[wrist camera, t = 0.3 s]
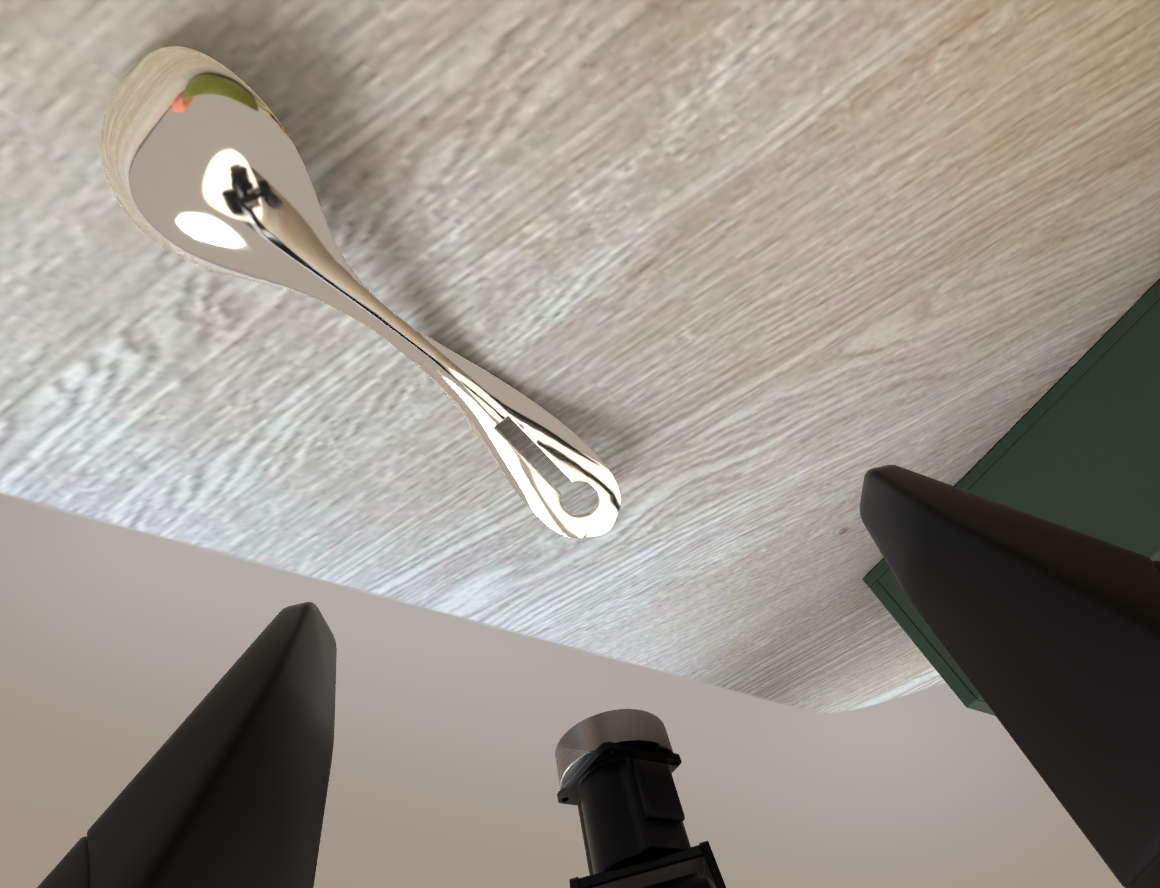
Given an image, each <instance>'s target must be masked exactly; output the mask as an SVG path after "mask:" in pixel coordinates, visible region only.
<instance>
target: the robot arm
mask: <svg viewBox="0 0 1160 888" xmlns="http://www.w3.org/2000/svg"><path fill="white" fill-rule="evenodd" d="M860 515H861V518H862V521H863V523H864V525H865V526H866V528H867V530H868V531H869V533H870V535H871V536H872V538H873V540H874V542H875V543H876V545H877V547H878V548H879V550H880V552H881V553H882V555H883V557H884V558H885V560H886V562H887V563H888V565H889V567H890V569H891V570H892V572H893V574H894V575H895V577H896V579H897V580H898V582H899V584H900V585H901V587H902V589H903V590H904V592H905V593H906V595H907V596H908V598H909V600H910V601H911V602H912V604H913V605H914V607H915V608H916V609H917V611H918V612H919V613H920V615H921V616H922V618H923V619H924V620H925V622H926V623H927V624H928V626H929V627H930V628H931V630H932V631H933V632H934V634H935V635H936V636H937V638H938V639H939V640H940V642H941V643H942V644H943V646H944V647H945V648H946V650H947V651H948V652H949V654H950V655H951V656H952V658H953V659H954V660H955V662H956V663H957V664H958V666H959V667H960V668H961V670H962V671H963V672H964V674H965V675H966V677H967V678H968V679H969V681H970V682H971V683H972V685H973V686H974V687H975V689H976V690H977V691H978V693H979V694H980V695H981V697H982V698H983V699H984V701H985V702H986V703H987V705H988V706H989V707H990V709H991V710H992V711H993V713H994V714H995V715H996V717H997V718H998V719H999V721H1000V722H1001V723H1002V725H1003V726H1004V727H1005V729H1006V730H1007V731H1008V733H1009V734H1010V736H1011V737H1012V738H1013V740H1014V741H1015V742H1016V744H1017V745H1018V746H1019V747H1020V749H1021V750H1022V752H1023V753H1024V754H1025V755H1026V757H1027V758H1028V760H1029V761H1030V762H1031V763H1032V765H1033V766H1034V768H1035V769H1036V770H1037V772H1038V773H1039V774H1040V776H1041V777H1042V778H1043V780H1044V781H1045V782H1046V784H1047V785H1048V786H1049V788H1050V789H1051V790H1052V792H1053V793H1054V794H1055V796H1056V797H1057V799H1058V800H1059V801H1060V803H1061V804H1062V805H1063V807H1064V808H1065V809H1066V811H1067V812H1068V813H1069V815H1070V816H1071V817H1072V819H1073V820H1074V821H1075V822H1076V824H1077V825H1078V827H1079V828H1080V829H1081V830H1082V832H1083V833H1084V835H1085V836H1086V837H1087V839H1088V840H1089V841H1090V843H1091V844H1092V845H1093V847H1094V848H1095V849H1096V851H1097V852H1098V853H1099V855H1100V856H1101V858H1102V859H1103V860H1104V862H1105V863H1106V864H1107V866H1108V867H1109V868H1110V870H1111V871H1112V872H1113V873H1114V875H1115V876H1116V878H1117V879H1118V880H1119V882H1120V883H1121V884H1122V885H1123V887H1125V888H1160V561H1157V560H1156V561H1152V560H1151V559H1150V558H1149V557H1147V556H1144V555H1141V554H1138V553H1136V552H1133V551H1130V550H1127V549H1125V548H1122V547H1119V546H1116V545H1114V544H1111V543H1108V542H1105V541H1103V540H1100V539H1097V538H1094V537H1092V536H1089V535H1086V534H1083V533H1081V532H1078V531H1075V530H1072V529H1069V528H1067V527H1064V526H1061V525H1058V524H1056V523H1053V522H1050V521H1047V520H1045V519H1042V518H1039V517H1036V516H1034V515H1031V514H1028V513H1025V512H1023V511H1020V510H1017V509H1014V508H1012V507H1009V506H1006V505H1003V504H1001V503H998V502H995V501H992V500H990V499H987V498H984V497H981V496H979V495H976V494H973V493H970V492H968V491H965V490H962V489H959V488H957V487H954V486H951V485H948V484H946V483H943V482H940V481H937V480H935V479H932V478H929V477H926V476H923V475H921V474H918V473H915V472H912V471H910V470H907V469H904V468H901V467H899V466H896V465H886V466H882V467H878V468H873V469H870V470H869V471H867V473H866V474H865V477H864V483H863V489H862V496H861V503H860ZM335 684H336V642H335V638H334V636H333V634H332V632H331V630H330V628H329V627H328V625H327V623H326V621H325V620H324V618H323V616H322V614H321V613H320V611H319V609H318V607H317V606H316V605H315V604H314V603H312V602H305V603H301V604H297V605H292V606H288V607H286V608H284V609H283V610H282V611H281V612H280V613H279V614H278V615H277V616H276V617H275V619H274V620H273V621H272V622H271V623H270V624H269V625H268V626H267V627H266V628H265V630H264V631H263V632H262V633H261V634H260V635H259V636H258V638H257V639H256V640H255V641H254V642H253V643H252V644H251V646H250V647H249V648H248V649H247V650H246V651H245V652H244V654H243V655H242V656H241V657H240V658H239V659H238V660H237V661H236V663H235V664H234V665H233V666H232V667H231V668H230V669H229V671H228V672H227V673H226V674H225V675H224V676H223V678H221V680H220V681H219V682H218V683H217V684H216V685H215V687H214V688H213V689H212V690H211V691H210V693H208V694H207V696H206V697H205V698H204V699H203V700H202V701H201V703H200V704H199V705H198V706H197V707H196V708H195V709H194V710H193V712H192V713H191V714H190V715H189V716H188V717H187V718H186V719H185V721H184V722H183V723H182V724H181V725H180V726H179V727H178V729H177V730H176V731H175V732H174V733H173V734H172V736H171V737H170V738H169V739H168V740H167V741H166V742H165V743H164V744H163V746H162V747H161V748H160V749H159V750H158V751H157V752H156V754H155V755H154V756H153V757H152V758H151V760H149V762H148V763H147V764H146V765H145V766H144V767H143V768H142V770H141V771H140V772H139V773H138V774H137V775H136V776H135V777H134V779H133V780H132V781H131V782H130V783H129V784H128V785H127V787H126V788H125V789H124V790H123V791H122V792H121V793H120V795H119V796H118V797H117V798H116V799H115V800H114V801H113V803H112V804H111V805H110V806H109V807H108V808H107V810H105V812H104V813H103V814H102V815H101V817H99V818H98V820H97V821H96V822H95V823H94V824H93V825H92V826H91V828H90V829H89V830H88V832H87V837H82V838H81V839H80V840H79V841H78V842H77V843H76V844H75V846H74V847H73V848H72V849H71V850H70V851H69V852H68V853H67V855H66V856H65V857H64V858H63V859H62V860H61V861H60V863H59V864H58V865H57V866H56V867H55V868H54V870H52V872H51V873H50V874H49V875H48V876H47V877H46V878H45V879H44V881H42V883H41V884H40V885H39V886H38V887H37V888H313V886H314V879H315V871H316V865H317V858H318V851H319V844H320V837H321V830H322V823H323V816H324V809H325V802H326V796H327V787H328V782H329V775H330V768H331V761H332V752H333V741H334V718H335ZM681 762H682V761H681V758H680V756H679V754H676V753H671V752H665V751H659V750H653V749H648V748H642V747H636V746H631V745H625V744H619V743H613V742H604V743H602V744H601V745H600V746H599V747H598V748H597V749H596V750H595V751H594V752H593V753H592V755H591V756H590V757H589V758H588V759H587V760H586V761H585V763H584V764H583V765H582V766H581V767H580V768H579V769H578V771H577V772H576V773H575V774H574V775H573V776H572V777H571V778H570V780H569V781H568V782H567V783H566V784H565V785H564V786H563V788H562V789H561V790H560V791H559V792H558V794H557V796H558V802H559V803H563V804H571V805H578V809H579V815H580V821H581V827H582V833H583V839H584V844H585V850H586V856H587V862H588V868H589V873H590V876H586V877H583V878H578V877H576V878H572V879H570V888H726V887H725V884H724V881H723V879H722V876H721V873H720V871H719V868H718V866H717V863H716V860H715V858H714V855H713V853H712V850H711V847H710V845H709V842H708V841H705V842H702V843H699V844H700V845H697V846H694V847H690V843H689V840H688V837H687V834H686V831H685V827H684V824H683V821H684V819H685V817H684V813H683V810H682V806H681V804H680V800H679V797H678V794H677V791H676V787H675V784H674V781H673V778H672V774H671V773H672V772H673V771H674V770H675V769H676V768H677V767H678V766H679V765H680V764H681Z"/></svg>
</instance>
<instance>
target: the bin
mask: <svg viewBox="0 0 1160 888" xmlns="http://www.w3.org/2000/svg"><path fill="white" fill-rule="evenodd" d="M955 487H957V488H959V489H962V490H965V491H968V492H970V493H973V494H976V495H979V496H981V497H984V498H987V499H990V500H992V501H995V502H998V503H1001V504H1003V505H1006V506H1009V507H1012V508H1014V509H1017V510H1020V511H1023V512H1025V513H1028V514H1031V515H1034V516H1036V517H1039V518H1042V519H1045V520H1047V521H1050V522H1053V523H1056V524H1058V525H1061V526H1064V527H1067V528H1069V529H1072V530H1075V531H1078V532H1081V533H1083V534H1086V535H1089V536H1092V537H1094V538H1097V539H1100V540H1103V541H1105V542H1108V543H1111V544H1114V545H1116V546H1119V547H1122V548H1125V549H1127V550H1130V551H1133V552H1136V553H1138V554H1141V555H1144V556H1147V557H1149V558H1150V559H1151V560H1152V561H1156V560H1157V561H1160V280H1159V281H1158V282H1157V283H1156V284H1155V285H1154V286H1153V287H1152V288H1151V289H1150V290H1149V291H1148V292H1147V293H1146V294H1145V295H1144V296H1143V297H1142V298H1141V299H1140V300H1139V301H1138V302H1137V303H1136V304H1135V305H1134V306H1133V307H1132V308H1131V309H1130V310H1129V311H1128V312H1127V313H1126V314H1125V315H1124V316H1123V317H1122V318H1121V319H1120V320H1119V321H1118V322H1117V323H1116V325H1115V326H1114V327H1113V328H1112V329H1111V330H1110V331H1109V332H1108V333H1107V334H1106V335H1105V336H1104V337H1103V338H1102V339H1101V340H1100V341H1099V342H1098V343H1097V344H1096V345H1095V346H1094V347H1093V348H1092V349H1091V350H1090V351H1089V352H1088V353H1087V354H1086V355H1085V356H1084V357H1083V358H1082V359H1081V360H1080V361H1079V362H1078V363H1077V364H1076V365H1075V366H1074V367H1073V368H1072V369H1071V370H1070V371H1069V372H1068V373H1067V374H1066V375H1065V376H1064V377H1063V378H1062V379H1061V380H1060V381H1059V382H1058V383H1057V384H1056V385H1055V386H1054V387H1053V388H1052V389H1051V390H1050V391H1049V392H1048V393H1047V394H1046V395H1045V396H1044V397H1043V398H1042V399H1041V400H1040V401H1039V402H1038V403H1037V404H1036V405H1035V406H1034V407H1033V408H1032V409H1031V410H1030V411H1029V412H1028V413H1027V414H1026V415H1025V416H1024V417H1023V418H1022V419H1021V420H1020V421H1019V422H1018V423H1017V424H1016V425H1015V427H1014V428H1013V429H1012V430H1011V431H1010V432H1009V433H1008V434H1007V435H1006V436H1005V437H1004V438H1003V439H1002V440H1001V441H1000V442H999V443H998V444H997V445H996V446H995V447H994V448H993V449H992V450H991V451H990V452H989V453H988V454H987V455H986V456H985V457H984V458H983V459H982V460H981V461H980V462H979V463H978V464H977V465H976V466H975V467H974V468H973V469H972V470H971V471H970V472H969V473H968V474H967V475H966V476H965V477H964V478H963V479H962V480H961V481H960V482H959V483H958V484H957V485H956V486H955ZM863 580H864V582H865V583H866V584H867V585H868V587H869V588H870V589H871V590H872V591H873V593H874V594H875V595H876V596H877V597H878V599H879V600H880V601H881V602H882V604H883V605H884V606H885V607H886V609H887V610H888V611H889V612H890V614H891V615H892V616H893V617H894V618H895V620H896V621H897V622H898V623H899V625H900V626H901V627H902V628H903V630H904V631H905V632H906V633H907V635H908V636H909V637H910V638H911V639H912V641H913V642H914V643H915V644H916V646H917V647H918V648H919V649H920V651H921V652H922V653H923V654H924V656H925V657H926V658H927V659H928V660H929V662H930V663H931V664H932V665H933V667H934V668H935V669H936V670H937V672H938V673H939V674H940V675H941V677H942V678H943V679H944V680H945V681H946V683H947V684H948V685H949V686H950V688H951V689H952V690H953V691H954V692H955V694H956V695H957V696H958V698H959V699H960V700H961V701H962V702H963V704H964V705H965V706H966V707H967V708H971V709H974V710H978V711H981V712H984V713H988V714H991V715H995V714H994V713H993V711H992V710H991V709H990V707H989V706H988V705H987V703H986V702H985V701H984V699H983V698H982V697H981V695H980V694H979V693H978V691H977V690H976V689H975V687H974V686H973V685H972V683H971V682H970V681H969V679H968V678H967V677H966V675H965V674H964V672H963V671H962V670H961V668H960V667H959V666H958V664H957V663H956V662H955V660H954V659H953V658H952V656H951V655H950V654H949V652H948V651H947V650H946V648H945V647H944V646H943V644H942V643H941V642H940V640H939V639H938V638H937V636H936V635H935V634H934V632H933V631H932V630H931V628H930V627H929V626H928V624H927V623H926V622H925V620H924V619H923V618H922V616H921V615H920V613H919V612H918V611H917V609H916V608H915V607H914V605H913V604H912V602H911V601H910V600H909V598H908V596H907V595H906V593H905V592H904V590H903V589H902V587H901V585H900V584H899V582H898V580H897V579H896V577H895V575H894V574H893V572H892V570H891V569H890V567H889V565H888V563H887V562H886V560H885V558H884V559H883V560H882V561H881V562H880V563H879V564H878V565H877V566H876V567H875V568H874V569H873V570H872V571H871V572H870V573H869V574H868V575H867V576H866V577H865V578H864V579H863ZM995 716H996V715H995Z"/></svg>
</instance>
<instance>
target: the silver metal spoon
mask: <svg viewBox="0 0 1160 888" xmlns="http://www.w3.org/2000/svg"><path fill="white" fill-rule="evenodd" d="M100 148H101V158H102V164H103V168H104V172H105V175H106V178H107V180H108V183H109V185H110V188H111V189H112V191H113V193H114V195H115V197H116V199H117V200H118V202H119V204H120V205H121V206H122V208H123V209H124V211H125V212H126V213H127V214H128V216H129V217H130V218H131V219H132V220H133V222H134V223H135V224H136V225H137V226H138V227H139V228H140V229H141V230H142V231H143V232H144V233H146V234H147V235H148V236H149V237H150V238H151V239H153V240H154V241H155V242H157V243H158V244H159V245H161V246H162V247H163V248H165V249H167V250H168V251H170V252H171V253H173V254H175V255H177V256H178V257H180V258H182V259H184V260H187V261H189V262H191V263H193V264H196V265H198V266H201V267H203V268H206V269H209V270H212V271H215V272H219V273H222V274H226V275H230V276H233V277H238V278H242V279H246V280H250V281H255V282H259V283H263V284H268V285H272V286H276V287H280V288H284V289H287V290H291V291H294V292H297V293H300V294H303V295H306V296H309V297H311V298H314V299H316V300H319V301H321V302H323V303H326V304H328V305H330V306H332V307H334V308H336V309H338V310H340V311H342V312H344V313H346V314H348V315H349V316H351V317H353V318H355V319H356V320H358V321H360V322H361V323H363V324H364V325H366V326H368V327H369V328H371V329H372V330H374V331H375V332H376V333H378V334H379V335H381V336H382V337H384V338H385V339H386V340H388V341H389V342H390V343H391V344H393V345H394V346H395V347H397V348H398V349H399V350H400V351H402V352H403V353H404V354H405V355H406V356H407V357H409V358H410V359H411V360H412V361H413V362H414V363H415V364H416V365H417V366H419V367H420V368H421V369H422V370H423V371H424V372H425V373H426V374H427V375H428V376H429V377H430V378H431V379H432V380H433V381H434V382H435V383H436V384H437V385H438V387H439V388H440V389H441V390H442V391H443V392H444V393H445V394H446V395H447V397H448V398H449V399H450V400H451V401H452V403H453V404H454V405H455V406H456V408H457V409H458V410H459V411H460V413H461V414H462V415H463V417H464V418H465V419H466V421H467V422H468V423H469V425H470V426H471V427H472V429H473V430H474V432H475V433H476V434H477V436H478V437H479V439H480V440H481V442H482V443H483V445H484V446H485V447H486V449H487V450H488V452H489V453H490V455H491V456H492V458H493V459H494V461H495V462H496V464H497V465H498V466H499V468H500V469H501V471H502V472H503V474H504V475H505V477H506V478H507V479H508V481H509V482H510V484H511V485H512V486H513V488H514V489H515V490H516V492H517V493H518V494H519V496H520V497H521V498H522V499H523V501H524V502H525V503H526V504H527V506H528V507H529V508H530V509H531V510H532V511H533V512H534V513H535V514H536V516H537V517H538V518H539V519H541V520H542V521H543V522H544V523H545V524H546V525H547V526H549V527H550V528H551V529H553V530H554V531H556V532H558V533H560V534H562V535H564V536H567V537H571V538H586V537H595V536H600V535H603V534H605V533H607V532H608V531H609V530H610V529H611V528H612V526H613V525H614V523H615V520H616V517H617V515H618V512H619V510H620V506H621V494H620V490H619V487H618V484H617V482H616V480H615V478H614V477H613V475H612V473H611V472H610V470H609V469H608V468H607V466H606V465H605V464H604V462H603V461H602V460H601V459H600V458H599V457H598V456H597V454H596V453H595V452H594V451H593V450H592V449H591V448H590V447H589V446H588V445H587V444H586V443H585V442H584V441H582V440H581V439H580V438H579V437H578V436H577V435H576V434H575V433H574V432H572V431H571V430H570V429H569V428H568V427H566V426H565V425H564V424H563V423H561V422H560V421H559V420H558V419H556V418H555V417H554V416H553V415H551V414H550V413H549V412H547V411H546V410H545V409H543V408H542V407H540V406H539V405H538V404H536V403H535V402H533V401H532V400H530V399H529V398H528V397H526V396H525V395H523V394H522V393H520V392H519V391H517V390H516V389H514V388H513V387H511V386H510V385H508V384H507V383H505V382H503V381H502V380H500V379H499V378H497V377H495V376H494V375H492V374H491V373H489V372H487V371H486V370H484V369H482V368H481V367H479V366H477V365H475V364H474V363H472V362H470V361H469V360H467V359H465V358H463V357H462V356H460V355H458V354H456V353H455V352H453V351H451V350H450V349H448V348H446V347H444V346H443V345H441V344H439V343H438V342H436V341H434V340H433V339H431V338H430V337H428V336H426V335H425V334H423V333H422V332H420V331H419V330H417V329H415V328H414V327H412V326H411V325H410V324H408V323H407V322H405V321H404V320H402V319H401V318H400V317H398V316H397V315H396V314H394V313H393V312H392V311H391V310H389V309H388V308H387V307H386V306H385V305H384V304H382V303H381V302H380V301H379V300H378V299H377V298H376V297H375V296H374V295H373V294H372V293H371V292H370V291H369V290H368V289H367V288H366V287H365V286H364V285H363V284H362V282H361V281H360V280H359V279H358V278H357V276H356V275H355V274H354V272H353V271H352V270H351V268H350V267H349V265H348V264H347V263H346V261H345V259H344V258H343V256H342V254H341V253H340V251H339V249H338V247H337V245H336V243H335V241H334V239H333V236H332V234H331V232H330V229H329V227H328V224H327V222H326V219H325V217H324V214H323V211H322V209H321V206H320V203H319V201H318V198H317V195H316V192H315V190H314V187H313V185H312V182H311V180H310V177H309V175H308V172H307V170H306V168H305V165H304V163H303V161H302V159H301V157H300V155H299V153H298V151H297V149H296V147H295V145H294V144H293V142H292V140H291V138H290V137H289V135H288V134H287V132H286V131H285V129H284V127H283V126H282V125H281V123H280V122H279V120H278V119H277V118H276V116H275V115H274V114H273V112H272V111H271V110H270V109H269V108H268V106H267V105H266V104H265V103H264V102H263V101H262V100H261V98H260V97H259V96H258V95H257V94H256V93H255V92H254V91H253V90H252V89H251V88H250V87H249V86H248V85H247V84H246V83H244V82H243V81H242V80H241V79H240V78H239V77H238V76H236V75H235V74H234V73H233V72H231V71H230V70H229V69H228V68H226V67H225V66H223V65H222V64H221V63H219V62H218V61H216V60H214V59H213V58H211V57H209V56H207V55H205V54H203V53H201V52H199V51H196V50H193V49H190V48H186V47H180V46H169V47H164V48H160V49H157V50H155V51H153V52H151V53H150V54H148V55H147V56H145V57H144V58H143V59H142V60H140V61H139V62H138V63H137V64H136V65H135V66H134V67H133V68H132V70H131V71H130V72H129V73H128V74H127V76H126V77H125V78H124V79H123V81H122V82H121V84H120V85H119V87H118V88H117V90H116V92H115V93H114V95H113V97H112V99H111V101H110V103H109V105H108V108H107V111H106V114H105V117H104V120H103V124H102V130H101V139H100ZM507 417H510V418H511V419H512V420H513V421H514V422H515V423H516V424H517V425H518V427H519V428H520V429H521V430H522V431H523V432H524V433H525V434H526V435H527V436H528V437H529V438H530V439H531V440H532V441H533V442H534V443H535V444H536V445H537V446H538V447H539V448H540V449H541V450H542V451H543V452H544V453H545V454H546V455H547V456H548V457H549V458H550V459H551V460H552V462H553V463H554V464H555V465H556V466H557V467H558V468H559V469H560V470H561V471H562V472H563V473H564V474H565V475H566V476H567V477H568V478H569V479H570V480H571V481H572V482H573V483H574V482H586V483H588V484H590V485H592V486H593V487H594V488H595V489H596V491H597V493H598V501H597V504H596V506H595V507H594V508H593V509H592V510H591V511H589V512H587V513H584V514H574V513H571V512H569V511H567V510H566V509H565V508H564V507H563V506H562V504H561V502H560V496H561V494H560V492H559V491H558V490H557V489H556V488H555V487H554V486H553V485H552V484H551V483H550V481H549V480H548V479H547V478H546V477H545V476H544V475H543V474H542V473H541V472H540V471H539V470H538V469H537V468H536V467H535V466H534V465H533V464H532V463H531V462H530V461H529V460H528V459H527V458H526V457H525V456H524V455H523V454H522V453H521V452H520V451H519V450H518V449H517V448H516V447H515V446H514V445H513V444H512V443H511V442H510V441H509V440H508V439H507V438H506V437H505V436H504V435H503V434H502V433H501V432H500V431H499V430H498V429H497V428H496V426H497V425H499V424H500V423H501V422H502V421H504V420H505V419H506V418H507Z"/></svg>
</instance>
